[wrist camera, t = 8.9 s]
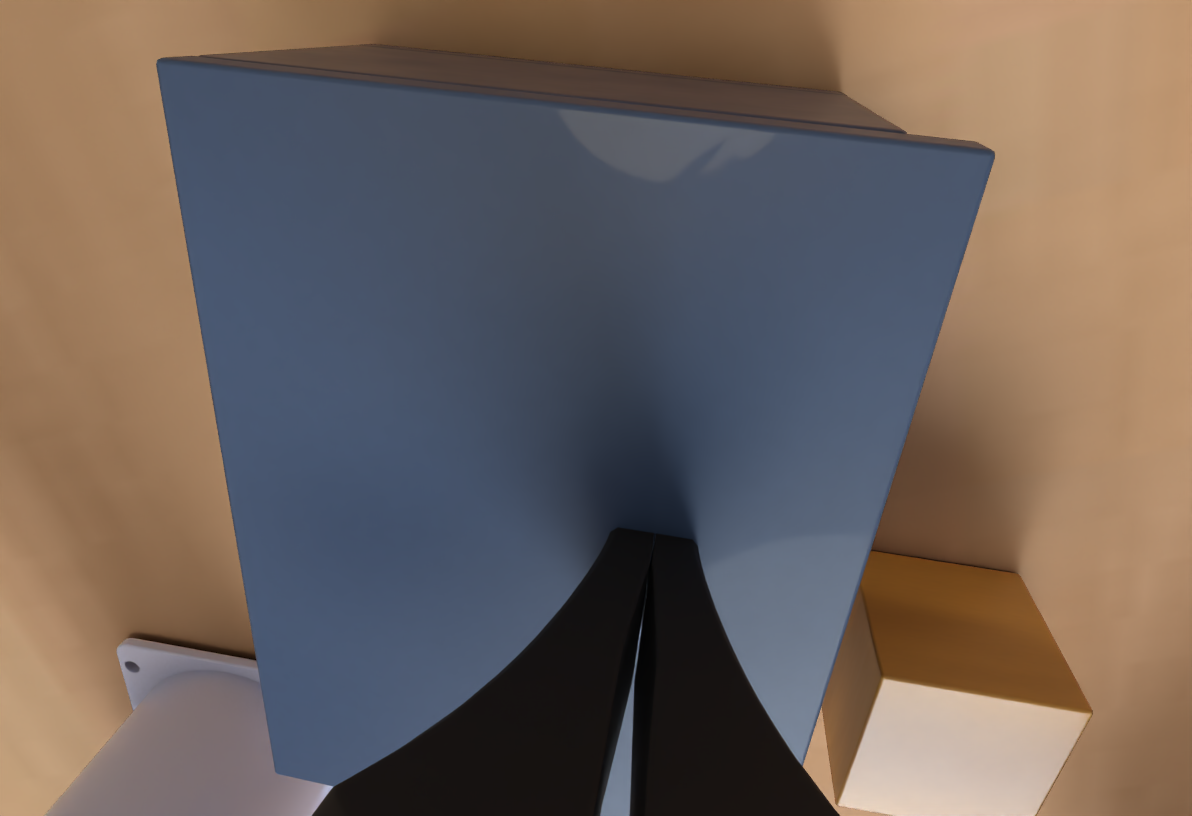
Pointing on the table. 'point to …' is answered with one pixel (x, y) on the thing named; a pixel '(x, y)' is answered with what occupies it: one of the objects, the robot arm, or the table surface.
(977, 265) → the table surface
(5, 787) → the table surface
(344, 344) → the lid
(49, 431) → the table surface
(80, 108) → the table surface
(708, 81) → the toy box
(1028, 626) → the block
